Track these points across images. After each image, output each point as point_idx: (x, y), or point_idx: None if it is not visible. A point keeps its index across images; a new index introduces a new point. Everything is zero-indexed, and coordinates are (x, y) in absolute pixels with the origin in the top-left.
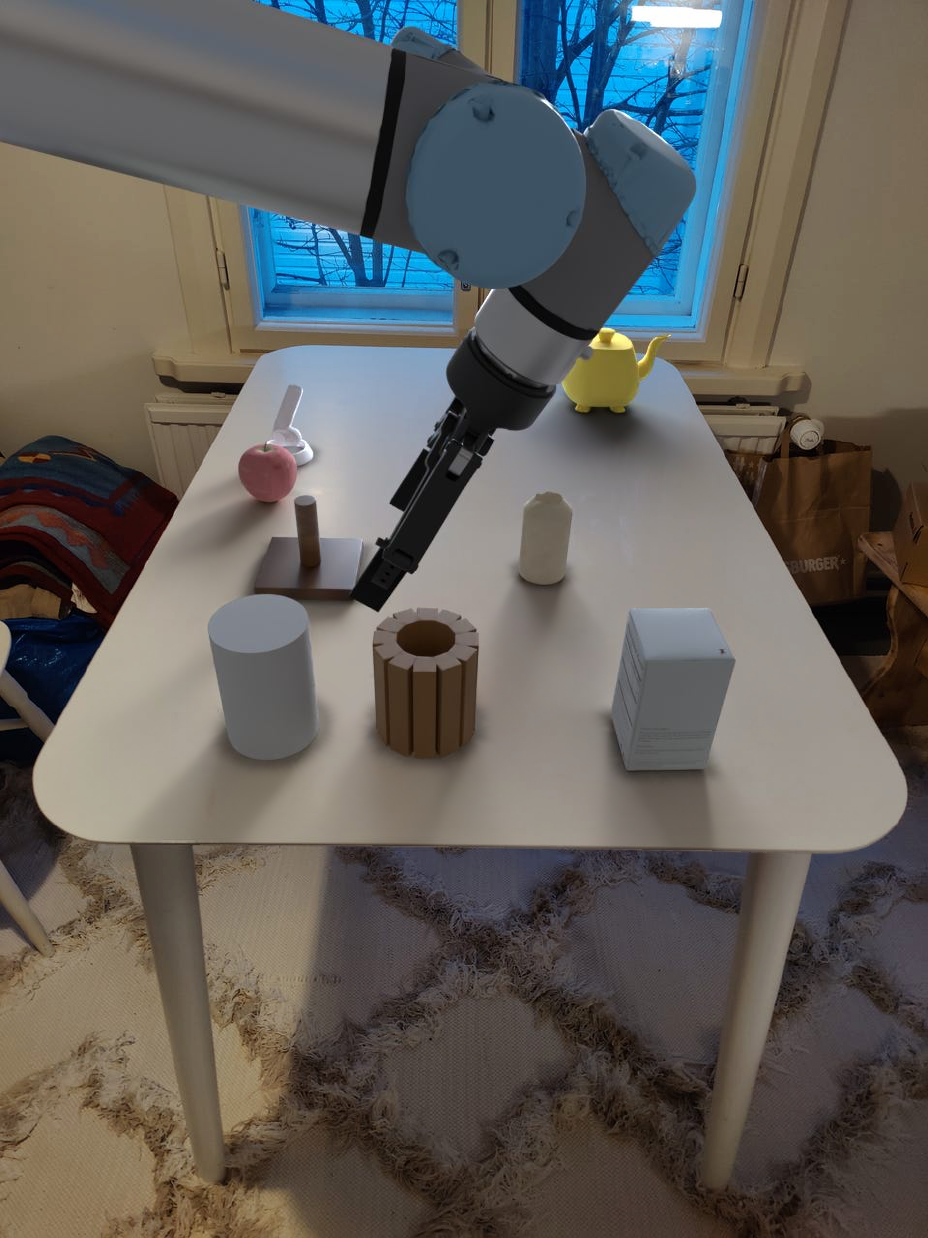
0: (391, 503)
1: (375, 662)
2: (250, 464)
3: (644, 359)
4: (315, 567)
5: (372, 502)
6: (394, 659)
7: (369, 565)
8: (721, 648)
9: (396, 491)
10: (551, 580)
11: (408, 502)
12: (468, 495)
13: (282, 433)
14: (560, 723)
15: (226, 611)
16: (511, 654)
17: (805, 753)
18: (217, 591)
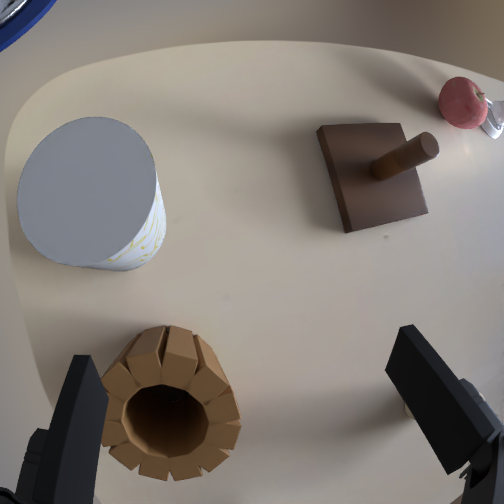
0: (400, 331)
1: (119, 358)
2: (459, 85)
3: None
4: (374, 177)
5: (473, 203)
6: None
7: (48, 432)
8: None
9: (421, 344)
10: (408, 414)
11: (403, 368)
12: (497, 286)
13: (499, 109)
14: (212, 480)
15: (100, 130)
16: (298, 421)
17: None
18: (313, 95)
